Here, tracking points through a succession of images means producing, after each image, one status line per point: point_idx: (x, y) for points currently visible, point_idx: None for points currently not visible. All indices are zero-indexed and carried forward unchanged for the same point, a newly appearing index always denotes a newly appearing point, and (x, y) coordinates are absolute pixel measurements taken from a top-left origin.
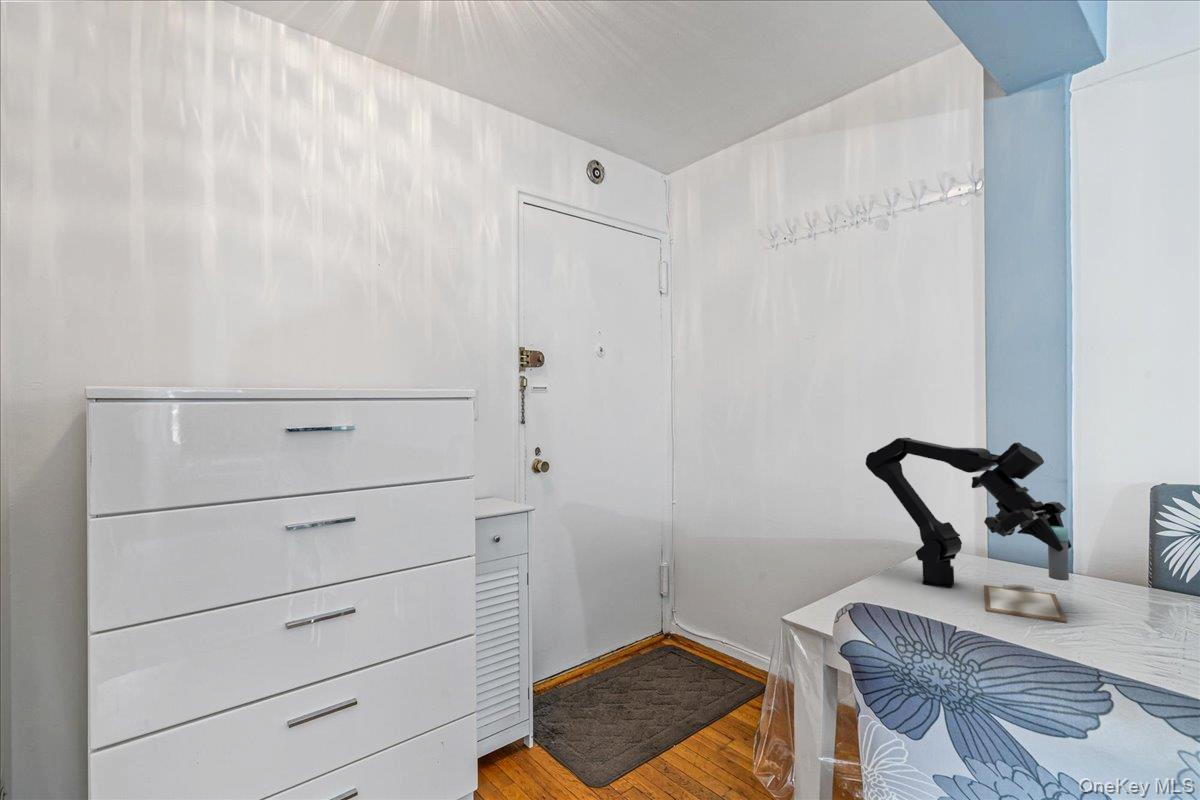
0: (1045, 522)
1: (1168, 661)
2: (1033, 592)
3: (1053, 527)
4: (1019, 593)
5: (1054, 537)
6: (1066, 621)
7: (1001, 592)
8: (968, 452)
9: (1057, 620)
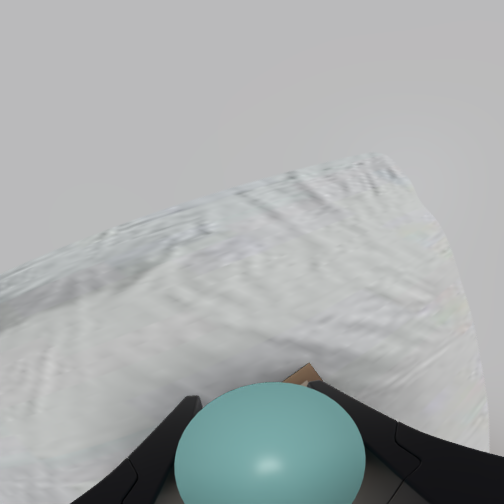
0: (480, 469)
1: (331, 182)
2: None
3: (293, 498)
4: None
5: (377, 412)
6: (309, 363)
7: None
8: None
9: (319, 378)
